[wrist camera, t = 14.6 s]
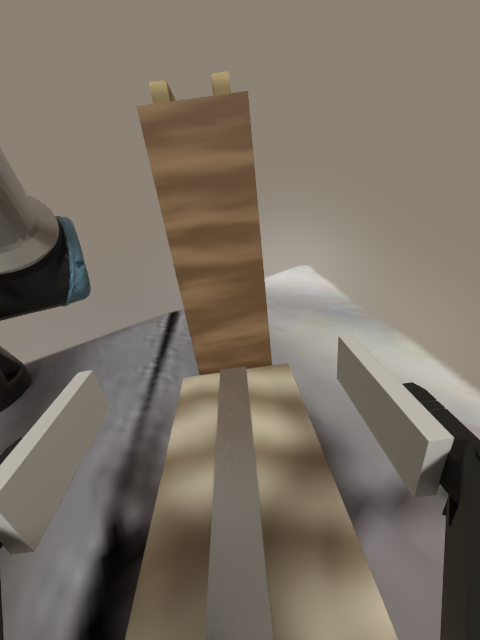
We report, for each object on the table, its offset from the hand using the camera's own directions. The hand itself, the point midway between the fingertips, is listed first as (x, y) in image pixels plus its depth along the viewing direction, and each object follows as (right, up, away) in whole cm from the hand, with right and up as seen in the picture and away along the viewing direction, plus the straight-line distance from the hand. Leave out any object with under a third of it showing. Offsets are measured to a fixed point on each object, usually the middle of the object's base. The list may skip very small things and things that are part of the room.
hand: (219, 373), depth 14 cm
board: (+1, -10, +9) cm, 14 cm away
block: (+1, -10, +6) cm, 12 cm away
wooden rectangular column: (0, -1, +29) cm, 29 cm away
